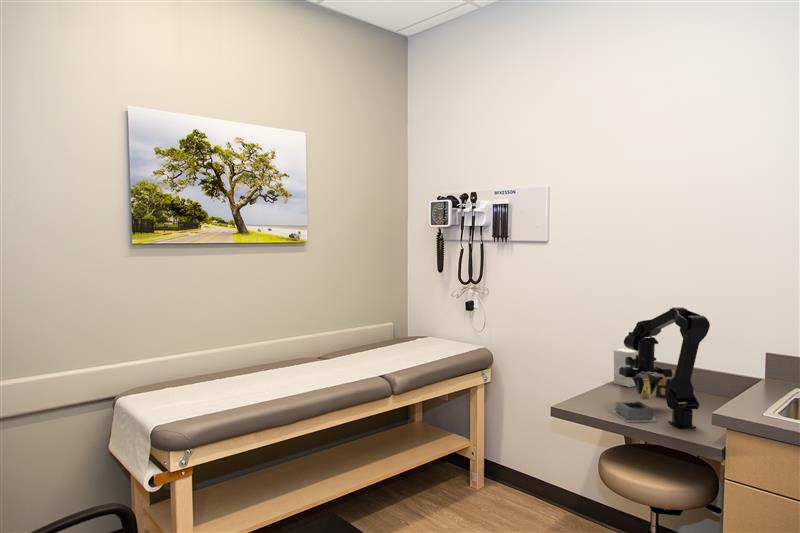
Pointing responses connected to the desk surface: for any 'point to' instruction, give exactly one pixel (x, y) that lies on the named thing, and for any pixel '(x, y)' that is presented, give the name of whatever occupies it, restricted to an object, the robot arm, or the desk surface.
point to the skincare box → (620, 362)
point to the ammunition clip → (662, 386)
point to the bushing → (646, 389)
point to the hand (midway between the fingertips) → (644, 393)
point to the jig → (634, 412)
